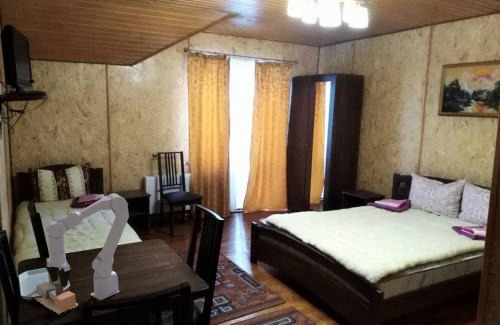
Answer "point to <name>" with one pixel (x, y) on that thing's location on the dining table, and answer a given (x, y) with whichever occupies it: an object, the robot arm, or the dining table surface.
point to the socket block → (64, 300)
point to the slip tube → (55, 291)
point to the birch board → (51, 304)
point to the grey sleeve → (44, 289)
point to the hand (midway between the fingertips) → (59, 283)
